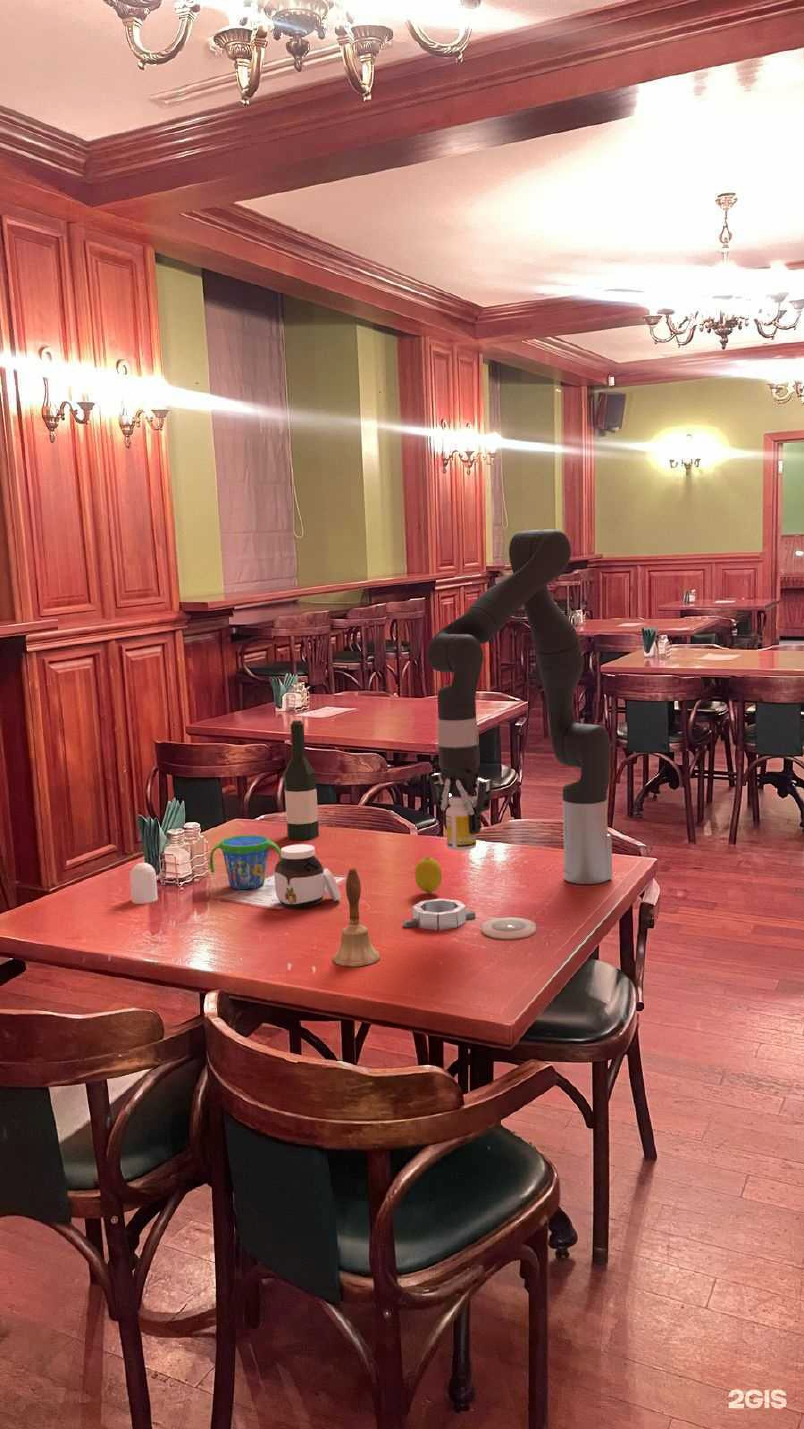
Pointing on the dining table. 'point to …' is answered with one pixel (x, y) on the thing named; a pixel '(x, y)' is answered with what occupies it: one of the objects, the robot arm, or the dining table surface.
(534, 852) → the dining table surface
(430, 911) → the collar
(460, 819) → the supplement bottle
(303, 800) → the wine bottle
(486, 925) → the plate
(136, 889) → the white domed cylinder
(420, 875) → the lemon
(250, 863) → the snack cup
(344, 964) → the hand bell
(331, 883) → the spread jar
